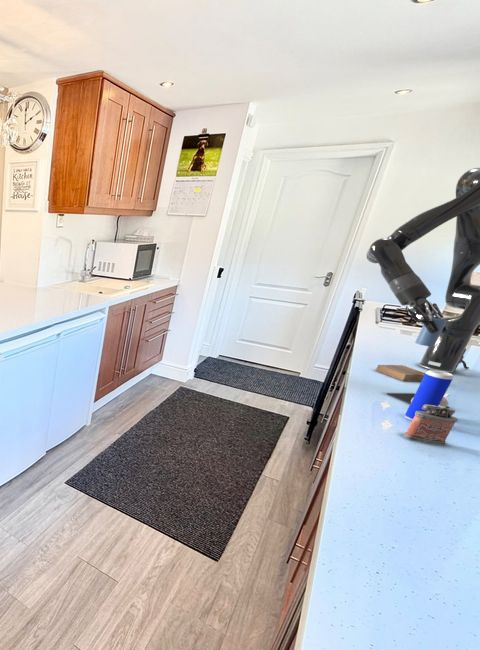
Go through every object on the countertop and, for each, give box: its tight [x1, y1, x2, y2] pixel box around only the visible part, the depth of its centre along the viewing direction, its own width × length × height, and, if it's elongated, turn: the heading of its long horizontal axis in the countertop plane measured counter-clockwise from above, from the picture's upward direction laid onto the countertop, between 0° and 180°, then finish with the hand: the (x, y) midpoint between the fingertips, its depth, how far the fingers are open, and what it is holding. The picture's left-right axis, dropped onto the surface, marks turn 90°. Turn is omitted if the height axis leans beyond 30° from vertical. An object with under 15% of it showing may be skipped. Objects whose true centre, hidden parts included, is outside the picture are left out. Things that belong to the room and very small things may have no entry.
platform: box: [375, 364, 426, 382], centre depth 151 cm, size 10×10×2 cm
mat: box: [386, 392, 450, 408], centre depth 130 cm, size 10×10×1 cm
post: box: [414, 317, 447, 347], centre depth 136 cm, size 5×5×9 cm
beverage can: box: [404, 369, 454, 421], centre depth 115 cm, size 5×5×15 cm
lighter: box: [403, 404, 459, 446], centre depth 105 cm, size 8×3×10 cm, turn 71°
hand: (439, 331), depth 134 cm, fingers closed on post, 4 cm apart
